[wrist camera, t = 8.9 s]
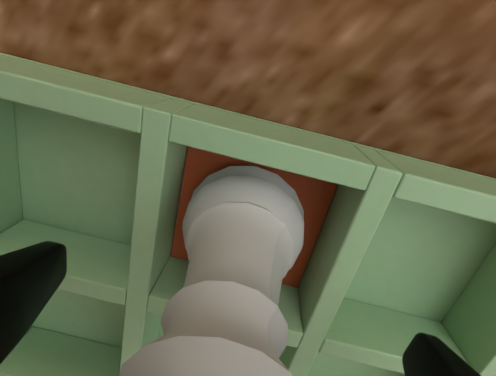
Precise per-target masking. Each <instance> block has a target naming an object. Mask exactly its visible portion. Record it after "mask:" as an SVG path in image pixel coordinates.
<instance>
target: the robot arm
mask: <svg viewBox="0 0 496 376" xmlns="http://www.w3.org/2000/svg"><path fill="white" fill-rule="evenodd" d="M66 272H67V250H66V246H65V245H64V244H61V243H57V242H53V241H44V242H41V243H38V244H34V245H31V246H28V247H25V248H22V249H18V250H15V251H12V252H9V253H6V254H3V255H0V364H1V363H2V362H3V361H4V360H5V358H6V357H7V356H8V355H9V354H10V352H11V351H12V350H13V349H14V348H15V346H16V345H17V344H18V343H19V342H20V340H21V339H22V338H23V337H24V335H25V334H26V332H27V331H28V330H29V328H30V327H31V326H32V324H33V323H34V321H35V320H36V318H37V317H38V316H39V314H40V313H41V311H42V310H43V309H44V307H45V306H46V304H47V303H48V301H49V300H50V299H51V297H52V296H53V294H54V293H55V291H56V290H57V289H58V287H59V286H60V284H61V283H62V281H63V280H64V278H65V276H66ZM402 364H403V369H404V374H405V376H481V375H480V374H479V373H478V372H476V371H475V370H474V369H473V368H472V367H471V366H470V365H469V364H467V363H466V362H465V361H464V360H463V359H462V358H461V357H459V356H458V355H457V354H456V353H455V352H454V351H453V350H452V349H450V348H449V347H448V346H447V345H446V344H445V343H444V342H443V341H441V340H440V339H439V338H438V337H436V336H434V335H430V334H426V333H421V332H420V333H417V334H416V335H415V336H414V338H413V339H412V341H411V342H410V344H409V345H408V347H407V348H406V350H405V351H404V353H403V357H402Z"/></svg>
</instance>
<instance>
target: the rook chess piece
mask: <svg viewBox="0 0 496 376" xmlns="http://www.w3.org/2000/svg"><path fill="white" fill-rule="evenodd" d="M182 230H183V237H184V244H185V249H186V250H187V254H188V260H189V265H188V269H187V274H186V279H185V283H184V286H183V288H182V289H181V290H179V291H178V292H177V293H176V294H175V295H174V296H173V297H172V298H171V299H170V300H168V301H167V302H166V305H165V308H164V311H163V314H162V317H161V320H160V321H161V326H162V331H163V335H164V336H162V337H160V338H158V339H156V340H154V341H152V342H150V343H148V344H146V345H144V346H143V347H142V348H141V349H140V350H138V351H137V352H136V353H135V354H134V355H133V356H132V357H130V358H129V359H128V360H127V361H126V362H125V363H123V364H122V367H121V371H120V374H119V376H292V374H291V373H290V371H289V370H288V369H287V368H286V367H285V366H284V364H283V363H282V362H281V361H280V360H279V357H280V356H281V354H282V353H283V351H284V349H285V348H286V346H287V344H288V324H287V322H286V320H285V318H284V317H283V315H282V313H281V311H280V309H279V307H278V302H279V296H280V290H281V284H282V279H283V278H284V277H285V276H286V274H287V272H288V270H290V269H291V268H292V267H293V265H294V263H295V261H296V259H297V257H298V255H299V254H300V252H301V250H302V247H303V244H304V210H303V208H302V205H301V203H300V201H299V198H298V196H297V194H296V191H295V190H294V189H293V188H292V187H291V186H290V185H289V184H287V183H286V182H285V181H284V180H283V179H282V178H281V177H280V176H279V175H278V174H275V173H272V172H270V171H267V170H264V169H262V168H259V167H257V166H229V167H227V168H225V169H222V170H220V171H217V172H215V173H213V174H210V175H208V176H207V177H206V179H205V180H204V181H203V182H202V183H201V184H200V185H199V186H198V187H197V188H196V189H195V190H194V192H193V195H192V198H191V200H190V201H189V203H188V206H187V210H186V213H185V216H184V219H183V223H182Z"/></svg>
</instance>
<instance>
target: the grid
mask: <svg viewBox="0 0 496 376" xmlns="http://www.w3.org/2000/svg"><path fill="white" fill-rule="evenodd" d="M229 166H257V167H259V168H262V169H264V170H267V171H270V172H272V173H275V174H278V175H279V176H280V177H281V178H282V179H283V180H284V181H285V182H286V183H287V184H289V185H290V186H291V187H292V188H293V189H294V190H295V191H296V194H297V196H298V198H299V201H300V203H301V205H302V208H303V210H304V244H303V247H302V250H301V252H300V254H299V255H298V257H297V259H296V261H295V263H294V265H293V267H292V268H291V269H290V270H288V272H287V274H286V276H285V277H284V278H283V279H282V284H281V290H280V296H279V302H278V307H279V309H280V311H281V313H282V315H283V317H284V318H285V320H286V322H287V324H288V344H287V346H286V348H285V349H284V351H283V353H282V354H281V356H280V357H279V360H280V361H281V362H282V363H283V364H284V366H285V367H286V368H287V369H288V370H289V371H290V373H291V374H292V376H405V374H404V369H403V364H402V357H403V353H404V351H405V350H406V348H407V347H408V345H409V344H410V342H411V341H412V339H413V338H414V336H415V335H416V334H417V333H420V332H421V333H426V334H430V335H434V336H436V337H438V338H439V339H440V340H441V341H443V342H444V343H445V344H446V345H447V346H448V347H449V348H450V349H452V350H453V351H454V352H455V353H456V354H457V355H458V356H459V357H461V358H462V359H463V360H464V361H465V362H466V363H467V364H469V365H470V366H471V367H472V368H473V369H474V370H475V371H476V372H478V373H479V374H480V375H481V376H496V179H495V178H492V177H488V176H484V175H480V174H476V173H472V172H468V171H464V170H460V169H456V168H452V167H448V166H444V165H440V164H437V163H433V162H429V161H425V160H421V159H417V158H413V157H409V156H405V155H401V154H397V153H393V152H389V151H385V150H382V149H378V148H374V147H370V146H366V145H362V144H358V143H354V142H350V141H346V140H342V139H338V138H334V137H330V136H327V135H323V134H319V133H315V132H311V131H307V130H303V129H299V128H295V127H291V126H287V125H283V124H279V123H275V122H272V121H268V120H264V119H260V118H256V117H252V116H248V115H244V114H240V113H236V112H232V111H228V110H224V109H220V108H217V107H213V106H209V105H205V104H201V103H197V102H193V101H189V100H185V99H181V98H177V97H173V96H169V95H165V94H162V93H158V92H154V91H150V90H146V89H142V88H138V87H134V86H130V85H126V84H122V83H118V82H114V81H110V80H107V79H103V78H99V77H95V76H91V75H87V74H83V73H79V72H75V71H71V70H67V69H63V68H59V67H55V66H52V65H48V64H44V63H40V62H36V61H32V60H28V59H24V58H20V57H16V56H12V55H8V54H4V53H0V255H3V254H6V253H9V252H12V251H15V250H18V249H22V248H25V247H28V246H31V245H34V244H38V243H41V242H44V241H53V242H57V243H61V244H64V245H65V246H66V250H67V272H66V276H65V278H64V280H63V281H62V283H61V284H60V286H59V287H58V289H57V290H56V291H55V293H54V294H53V296H52V297H51V299H50V300H49V301H48V303H47V304H46V306H45V307H44V309H43V310H42V311H41V313H40V314H39V316H38V317H37V318H36V320H35V321H34V323H33V324H32V326H31V327H30V328H29V330H28V331H27V332H26V334H25V335H24V337H23V338H22V339H21V340H20V342H19V343H18V344H17V345H16V346H15V348H14V349H13V350H12V351H11V352H10V354H9V355H8V356H7V357H6V358H5V360H4V361H3V362H2V363H1V364H0V376H119V374H120V371H121V367H122V364H123V363H125V362H126V361H127V360H128V359H129V358H130V357H132V356H133V355H134V354H135V353H136V352H137V351H138V350H140V349H141V348H142V347H143V346H144V345H146V344H148V343H150V342H152V341H154V340H156V339H158V338H160V337H162V336H164V335H163V331H162V326H161V321H160V320H161V317H162V314H163V311H164V308H165V305H166V302H167V301H168V300H170V299H171V298H172V297H173V296H174V295H175V294H176V293H177V292H178V291H179V290H181V289H182V288H183V286H184V283H185V279H186V274H187V269H188V265H189V260H188V254H187V250H186V249H185V244H184V237H183V230H182V223H183V219H184V216H185V213H186V210H187V206H188V203H189V201H190V200H191V198H192V195H193V192H194V190H195V189H196V188H197V187H198V186H199V185H200V184H201V183H202V182H203V181H204V180H205V179H206V177H207V176H208V175H210V174H213V173H215V172H217V171H220V170H222V169H225V168H227V167H229Z"/></svg>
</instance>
